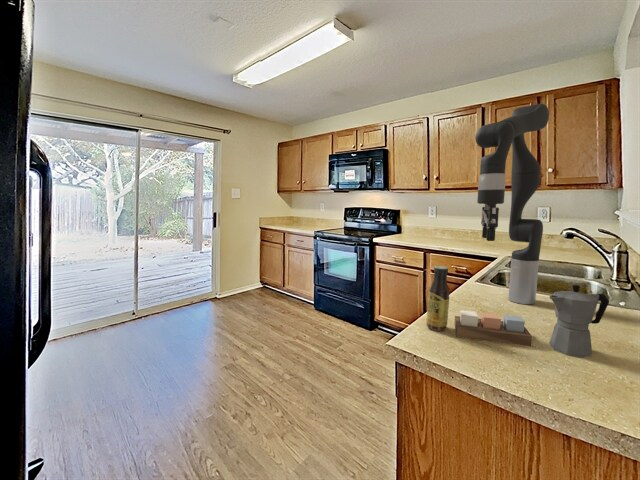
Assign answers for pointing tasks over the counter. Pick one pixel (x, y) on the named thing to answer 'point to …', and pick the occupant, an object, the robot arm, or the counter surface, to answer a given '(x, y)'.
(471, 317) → the cream button
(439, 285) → the sauce bottle
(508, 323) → the slate button
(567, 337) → the coffeepot
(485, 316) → the terracotta button
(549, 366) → the counter surface
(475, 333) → the brown button board
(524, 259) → the robot arm
